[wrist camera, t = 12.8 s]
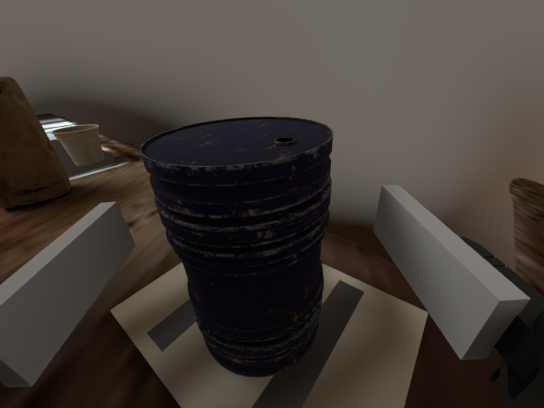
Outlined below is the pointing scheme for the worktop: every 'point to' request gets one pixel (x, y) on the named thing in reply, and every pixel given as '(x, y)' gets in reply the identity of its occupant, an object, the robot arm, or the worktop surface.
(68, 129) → the flower pot
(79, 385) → the worktop surface
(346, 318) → the board
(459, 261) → the robot arm
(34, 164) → the block
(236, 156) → the dark blue can
